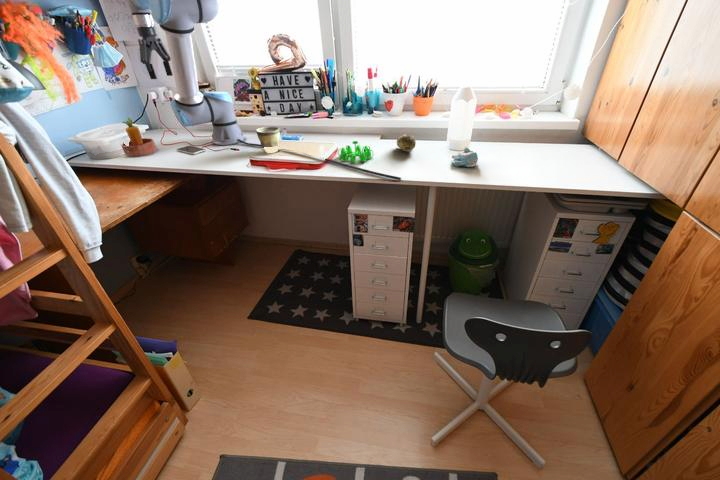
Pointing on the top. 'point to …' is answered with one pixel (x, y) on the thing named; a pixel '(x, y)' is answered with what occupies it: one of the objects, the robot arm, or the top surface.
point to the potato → (406, 142)
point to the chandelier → (355, 153)
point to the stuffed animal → (465, 158)
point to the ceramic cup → (268, 136)
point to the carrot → (133, 133)
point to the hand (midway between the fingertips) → (162, 77)
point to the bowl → (140, 148)
